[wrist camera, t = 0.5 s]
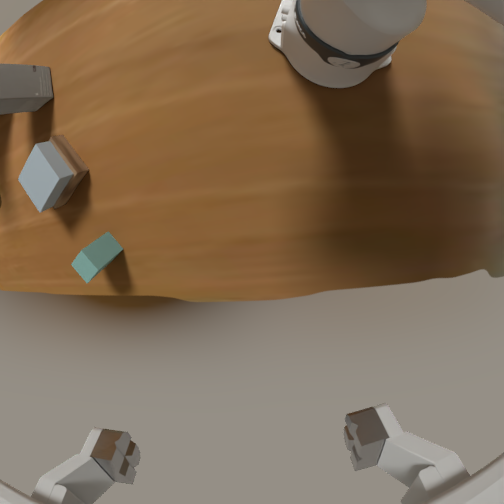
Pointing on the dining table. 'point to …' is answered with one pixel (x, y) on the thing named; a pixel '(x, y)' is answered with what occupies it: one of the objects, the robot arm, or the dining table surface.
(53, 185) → the grey block
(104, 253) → the teal block
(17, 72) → the skincare box
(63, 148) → the walnut block
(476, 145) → the dining table surface
